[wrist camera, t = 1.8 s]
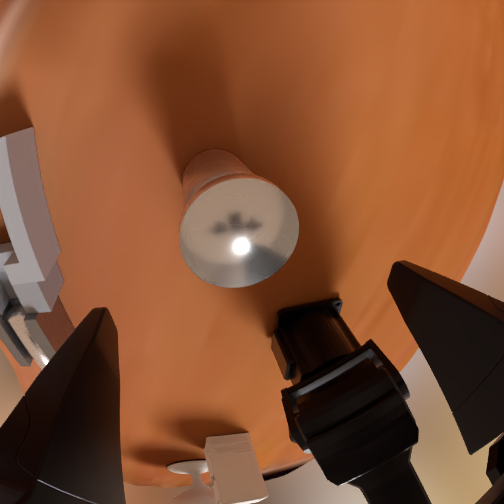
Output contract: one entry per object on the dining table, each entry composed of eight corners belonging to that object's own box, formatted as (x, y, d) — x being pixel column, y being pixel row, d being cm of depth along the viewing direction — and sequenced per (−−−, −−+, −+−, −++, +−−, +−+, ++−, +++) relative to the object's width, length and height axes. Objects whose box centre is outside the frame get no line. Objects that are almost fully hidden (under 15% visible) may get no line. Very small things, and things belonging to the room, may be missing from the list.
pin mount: (52, 282, 17) (35, 319, 14) (75, 329, 20) (66, 367, 16) (8, 287, 16) (-11, 321, 12) (32, 331, 19) (20, 365, 15)
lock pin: (38, 296, 16) (25, 326, 13) (89, 380, 21) (86, 407, 19) (10, 299, 15) (-4, 327, 12) (64, 380, 21) (59, 406, 18)
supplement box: (205, 436, 36) (221, 505, 26) (249, 431, 38) (271, 496, 28) (202, 449, 39) (216, 509, 29) (241, 445, 42) (259, 502, 31)
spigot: (250, 142, 16) (303, 175, 10) (249, 210, 18) (293, 278, 12) (174, 147, 15) (172, 185, 9) (181, 217, 17) (187, 294, 11)
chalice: (174, 456, 39) (188, 524, 27) (237, 457, 46) (255, 516, 34) (155, 470, 44) (164, 526, 32) (209, 472, 51) (222, 522, 38)
